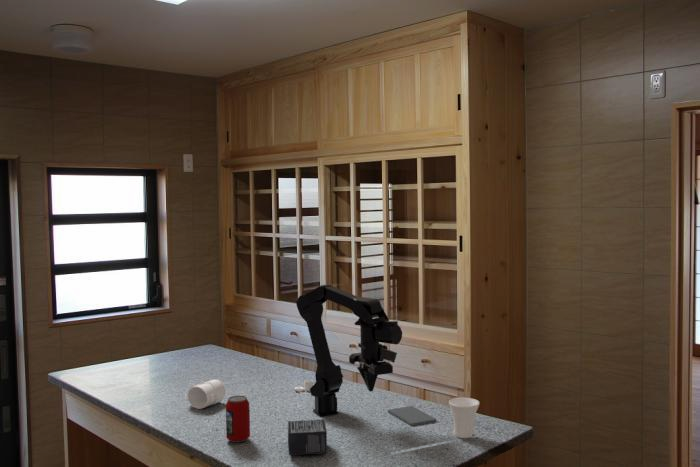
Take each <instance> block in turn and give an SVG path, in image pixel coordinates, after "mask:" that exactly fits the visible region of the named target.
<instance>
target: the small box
mask: <svg viewBox="0 0 700 467" xmlns="http://www.w3.org/2000/svg"><path fill="white" fill-rule="evenodd" d="M327 435H328V434H327V428H326V422H325V419H312V420H311V419H309V420H289V421H288V422H287V444H288V445H287V446H288V447H287V448H288V455H289V456H291V455H293V456H295V455H296V456H297V455H314V454H315V455H317V454H327V453H328V451H327V450H328V448H327V447H328V446H327V444H328V443H327V442H328V440H327V439H328V438H327Z"/></svg>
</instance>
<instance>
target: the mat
mask: <svg viewBox="0 0 700 467" xmlns="http://www.w3.org/2000/svg"><path fill="white" fill-rule="evenodd" d="M387 413H388V414H389V415H391V416H393V417H395V418H397V419H399V420H401V421H402V422H403V423H405V424H406V425H408V426H410V427H414V426H419V425H424V424H425V425H426V424H429V423H430V424H431V423H436V422H437V418H435V417H434V416H432V415H430V414H427V413H425V412H424V411H423V410H421V409H419V408H417V407H415V406H412V405H408V406H404V407H397V408H391V409H387Z"/></svg>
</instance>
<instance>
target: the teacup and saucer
mask: <svg viewBox="0 0 700 467" xmlns="http://www.w3.org/2000/svg"><path fill="white" fill-rule="evenodd" d="M303 383H304V387H303V386H295V387H294V391H295V392H297V393H299V394H303V395H311V392H310V388H311V387H312V386H313V385H314V384H315V383H316V381H314V380H312V379H305V380H304V381H303ZM304 391H306V392H304Z"/></svg>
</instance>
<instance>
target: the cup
mask: <svg viewBox="0 0 700 467" xmlns="http://www.w3.org/2000/svg"><path fill="white" fill-rule="evenodd" d="M480 403H481V402H480V401H479V400H477V399H475V398H471V397H455V398H451V399H450V400H449V401H448V404H449V406H450V410H451V415H452V418H453V420H452V421H453V435H454V437H456V438H460V439H469V438H472V437H473V435H474V423H475V422H474V420H475V418H476V415H477V411H478V409H479V407H480Z"/></svg>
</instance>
